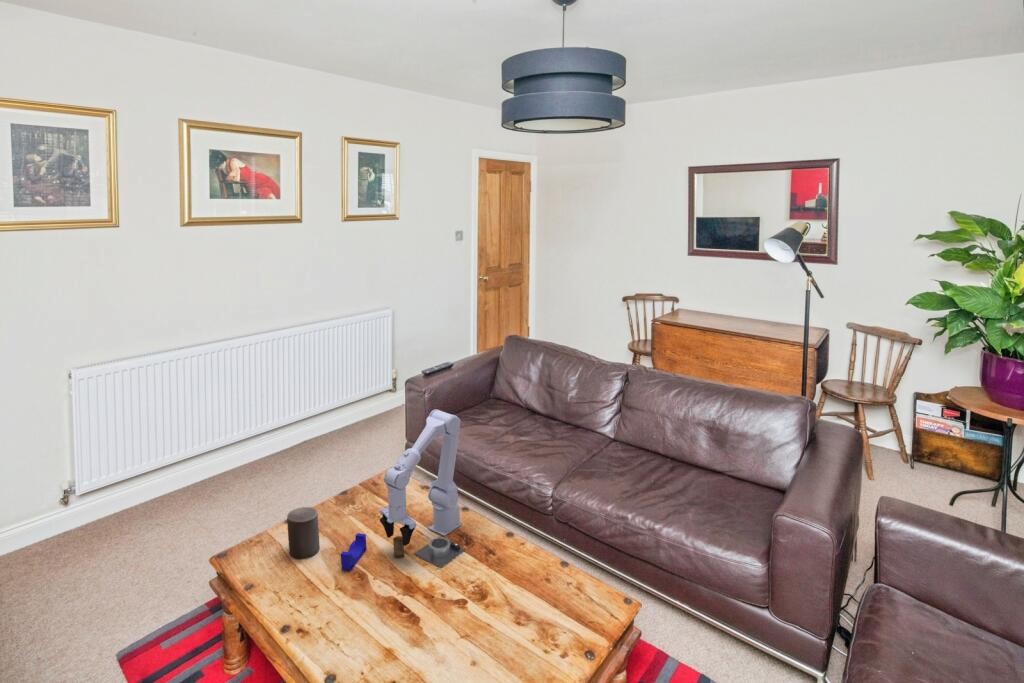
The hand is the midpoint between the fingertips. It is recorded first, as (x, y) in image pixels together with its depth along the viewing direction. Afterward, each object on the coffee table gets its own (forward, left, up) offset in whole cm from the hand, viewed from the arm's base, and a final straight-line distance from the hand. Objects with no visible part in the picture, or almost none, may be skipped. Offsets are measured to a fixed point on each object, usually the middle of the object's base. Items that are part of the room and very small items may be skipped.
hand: (398, 540), depth 195 cm
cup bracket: (-9, +10, -6) cm, 15 cm away
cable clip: (+11, -11, -6) cm, 16 cm away
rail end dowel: (0, 0, -6) cm, 6 cm away
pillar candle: (+17, -27, -6) cm, 32 cm away
